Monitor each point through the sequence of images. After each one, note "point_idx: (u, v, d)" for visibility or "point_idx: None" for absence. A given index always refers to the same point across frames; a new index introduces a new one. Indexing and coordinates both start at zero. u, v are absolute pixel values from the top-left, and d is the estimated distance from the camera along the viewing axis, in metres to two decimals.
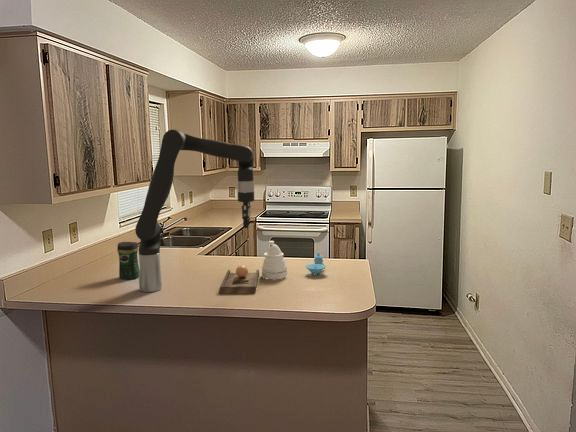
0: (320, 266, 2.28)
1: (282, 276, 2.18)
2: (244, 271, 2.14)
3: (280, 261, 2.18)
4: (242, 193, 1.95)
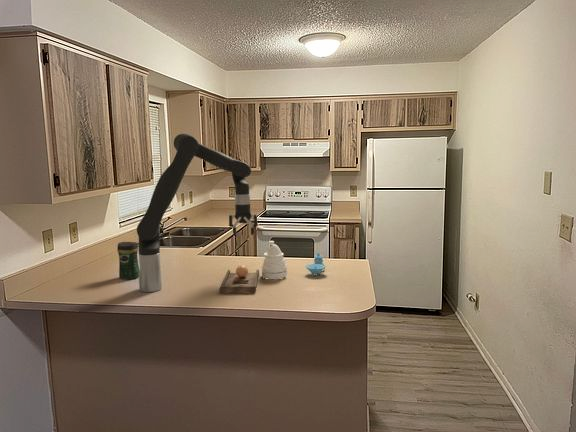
0: (320, 266, 2.28)
1: (282, 276, 2.18)
2: (244, 271, 2.14)
3: (280, 261, 2.18)
4: (249, 204, 2.18)
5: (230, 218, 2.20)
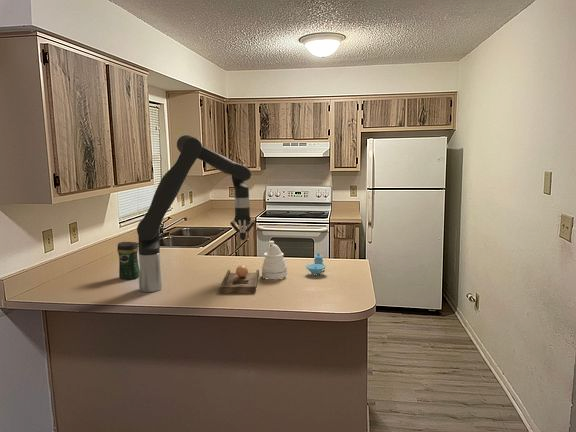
0: (320, 266, 2.28)
1: (282, 276, 2.18)
2: (244, 271, 2.14)
3: (280, 261, 2.18)
4: (249, 208, 2.21)
5: (233, 225, 2.22)
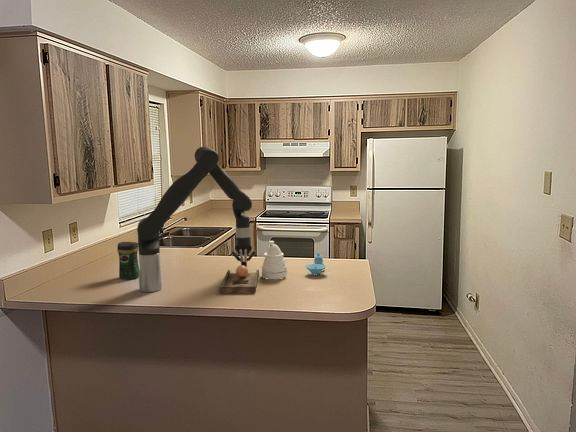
0: (320, 266, 2.28)
1: (282, 276, 2.18)
2: (244, 271, 2.14)
3: (280, 261, 2.18)
4: (249, 237, 2.23)
5: (234, 254, 2.24)
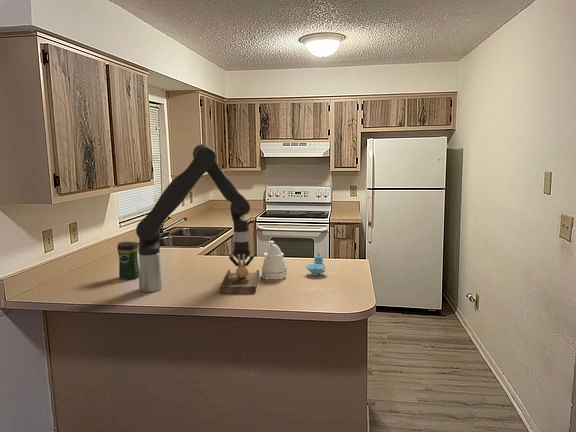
0: (320, 266, 2.28)
1: (282, 276, 2.18)
2: (244, 274, 2.13)
3: (280, 261, 2.18)
4: (248, 241, 2.16)
5: (231, 259, 2.17)
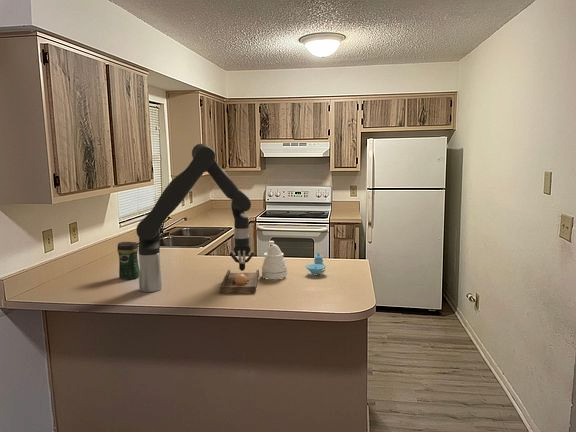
0: (320, 266, 2.28)
1: (282, 276, 2.18)
2: None
3: (280, 261, 2.18)
4: (248, 238, 2.17)
5: (232, 255, 2.18)
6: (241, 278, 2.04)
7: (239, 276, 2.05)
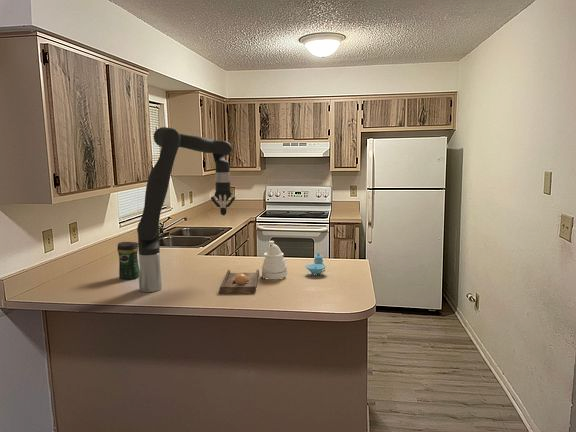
0: (320, 266, 2.28)
1: (282, 276, 2.18)
2: None
3: (280, 261, 2.18)
4: (229, 183, 2.21)
5: (213, 200, 2.22)
6: (242, 277, 2.05)
7: (239, 275, 2.05)
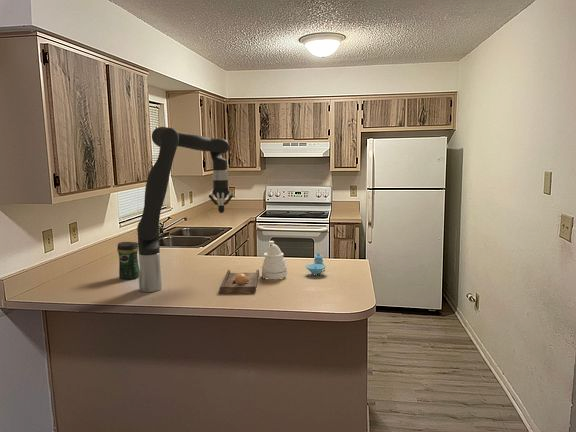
0: (320, 266, 2.28)
1: (282, 276, 2.18)
2: None
3: (280, 261, 2.18)
4: (227, 180, 2.22)
5: (211, 197, 2.23)
6: (242, 277, 2.05)
7: (239, 275, 2.06)
